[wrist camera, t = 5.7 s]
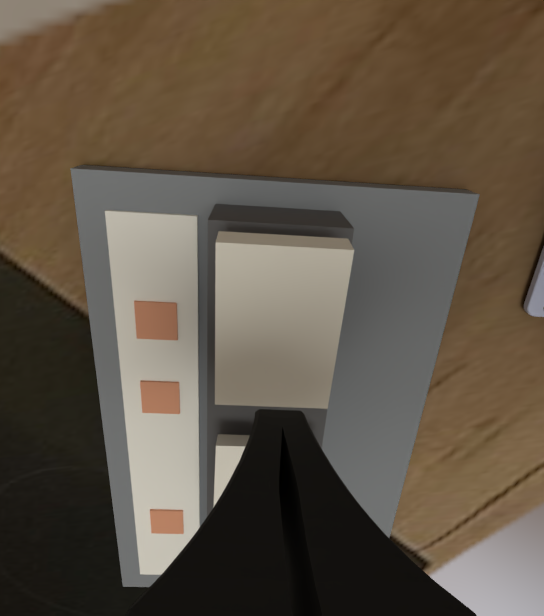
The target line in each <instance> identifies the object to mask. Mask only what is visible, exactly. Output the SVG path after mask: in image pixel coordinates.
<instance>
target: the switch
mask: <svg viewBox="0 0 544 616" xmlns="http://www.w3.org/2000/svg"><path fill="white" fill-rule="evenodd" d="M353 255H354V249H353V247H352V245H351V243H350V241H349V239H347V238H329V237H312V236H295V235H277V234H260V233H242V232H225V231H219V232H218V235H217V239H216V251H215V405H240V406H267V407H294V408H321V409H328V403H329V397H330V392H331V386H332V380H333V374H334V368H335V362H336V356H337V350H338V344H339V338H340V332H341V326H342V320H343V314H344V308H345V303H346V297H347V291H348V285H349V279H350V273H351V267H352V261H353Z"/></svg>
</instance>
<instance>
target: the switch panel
mask: <svg viewBox="0 0 544 616" xmlns="http://www.w3.org/2000/svg"><path fill="white" fill-rule="evenodd" d="M71 176H72V184H73V192H74V200H75V208H76V216H77V223H78V231H79V239H80V247H81V255H82V263H83V271H84V279H85V287H86V295H87V303H88V311H89V319H90V327H91V335H92V343H93V351H94V359H95V367H96V375H97V383H98V391H99V399H100V407H101V415H102V423H103V431H104V439H105V447H106V455H107V463H108V471H109V479H110V487H111V495H112V503H113V511H114V519H115V527H116V535H117V543H118V551H119V558H120V566H121V574H122V582H123V587H150V586H151V585H152V584H153V583H154V582H155V581H156V580H157V579H158V578H159V577H160V576H161V574H162V573H163V572H164V571H165V570H166V569H167V568H168V567H169V565H170V564H171V563H172V562H173V561H174V559H175V558H176V557H177V556H178V555H179V553H180V552H181V551H182V550H183V549H184V547H185V546H186V545H187V544H188V542H189V541H190V540H191V539H192V537H193V536H194V535H195V533H196V532H197V531H198V529H199V528H200V526H201V525H202V523H203V522H204V521H205V519H206V518H207V516H208V515H209V513H210V512H211V510H212V509H213V506H214V480H215V454H216V442H217V437H218V434H228V435H250V433H251V430H252V427H253V423H254V418H255V412H256V411H257V410H259V409H271V410H297V411H302V412H303V413H304V415H305V417H306V420H307V422H308V424H309V426H310V428H311V430H312V432H313V434H314V436H315V438H316V440H317V442H318V443H319V445H320V447H321V449H322V450H323V452H324V454H325V455H326V457H327V459H328V460H329V462H330V463H331V465H332V467H333V468H334V470H335V471H336V473H337V474H338V476H339V477H340V479H341V480H342V481H343V483H344V484H345V486H346V487H347V489H348V490H349V491H350V493H351V494H352V495H353V497H354V498H355V499H356V501H357V502H358V503H359V504H360V506H361V507H362V508H363V509H364V510H365V512H366V513H367V514H368V515H369V516H370V518H371V519H372V520H373V521H374V522H375V523H376V524H377V526H378V527H379V528H380V529H381V530H382V531H383V532H384V533H385V534H386V536H387V537H388V538H389V537H390V533H391V530H392V526H393V522H394V518H395V514H396V511H397V507H398V503H399V499H400V495H401V492H402V488H403V484H404V480H405V476H406V473H407V469H408V465H409V461H410V457H411V454H412V450H413V446H414V442H415V438H416V435H417V431H418V427H419V423H420V419H421V415H422V412H423V408H424V404H425V400H426V396H427V393H428V389H429V385H430V381H431V377H432V374H433V370H434V366H435V362H436V358H437V355H438V351H439V347H440V343H441V339H442V336H443V332H444V328H445V324H446V320H447V316H448V313H449V309H450V305H451V301H452V297H453V294H454V290H455V286H456V282H457V278H458V275H459V271H460V267H461V263H462V259H463V256H464V252H465V248H466V244H467V240H468V237H469V233H470V229H471V225H472V221H473V218H474V214H475V210H476V206H477V202H478V198H479V195H480V194H477V193H474V192H472V191H469V190H466V189H450V188H435V187H419V186H403V185H388V184H372V183H357V182H341V181H326V180H310V179H295V178H279V177H264V176H248V175H232V174H217V173H201V172H186V171H170V170H155V169H139V168H124V167H108V166H93V165H80V166H77V167H73V168H71ZM219 231H225V232H242V233H260V234H277V235H295V236H312V237H329V238H347V239H349V241H350V243H351V245H352V247H353V249H354V255H353V261H352V267H351V273H350V279H349V285H348V291H347V297H346V303H345V308H344V314H343V320H342V326H341V332H340V338H339V344H338V350H337V356H336V362H335V368H334V374H333V380H332V386H331V392H330V397H329V403H328V409H321V408H294V407H267V406H240V405H215V251H216V239H217V235H218V232H219Z"/></svg>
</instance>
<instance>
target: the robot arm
mask: <svg viewBox="0 0 544 616" xmlns="http://www.w3.org/2000/svg"><path fill="white" fill-rule="evenodd" d="M543 307H544V247H543V250H542V253H541V255H540V258H539V261H538V264H537V267H536V270H535V273H534V276H533V279H532V282H531V285H530V288H529V291H528V294H527V297H526V299H525V302H524V310H525V311H526V312H527V313H528V314H529V315H531V316H535V317H544V309H543ZM126 616H476V614H475V613H474V612H473V611H471V610H470V609H469V608H468V607H466V606H465V605H464V604H463V603H461V602H460V601H459V600H458V599H456V598H455V597H454V596H452V595H451V594H450V593H449V592H447V591H446V590H445V589H444V588H442V587H441V586H440V585H439V584H437V583H436V582H435V581H434V580H433V579H431V578H430V577H429V576H428V575H427V574H426V573H425V572H424V571H422V570H421V569H420V568H419V567H418V566H417V565H416V564H415V563H413V562H412V561H411V560H410V559H409V558H408V557H407V556H406V555H405V554H404V553H403V552H402V551H401V550H400V549H399V548H398V547H397V546H396V545H395V544H394V543H393V542H392V541H391V540H390V539H389V538H388V537H387V536H386V534H385V533H384V532H383V531H382V530H381V529H380V528H379V527H378V526H377V524H376V523H375V522H374V521H373V520H372V519H371V518H370V516H369V515H368V514H367V513H366V512H365V510H364V509H363V508H362V507H361V506H360V504H359V503H358V502H357V501H356V499H355V498H354V497H353V495H352V494H351V493H350V491H349V490H348V489H347V487H346V486H345V484H344V483H343V481H342V480H341V479H340V477H339V476H338V474H337V473H336V471H335V470H334V468H333V467H332V465H331V463H330V462H329V460H328V459H327V457H326V455H325V454H324V452H323V450H322V449H321V447H320V445H319V443H318V442H317V440H316V438H315V436H314V434H313V432H312V430H311V428H310V426H309V424H308V422H307V420H306V417H305V415H304V413H303V412H302V411H297V410H271V409H259V410H257V411H256V412H255V418H254V423H253V427H252V430H251V433H250V436H249V439H248V442H247V444H246V447H245V449H244V451H243V454H242V456H241V459H240V461H239V463H238V465H237V467H236V469H235V471H234V473H233V475H232V476H231V478H230V480H229V482H228V484H227V486H226V488H225V489H224V491H223V493H222V495H221V496H220V498H219V500H218V501H217V503H216V504H215V506H214V507H213V509H212V510H211V512H210V513H209V515H208V516H207V518H206V519H205V521H204V522H203V523H202V525H201V526H200V528H199V529H198V531H197V532H196V533H195V535H194V536H193V537H192V539H191V540H190V541H189V542H188V544H187V545H186V546H185V547H184V549H183V550H182V551H181V552H180V553H179V555H178V556H177V557H176V558H175V559H174V561H173V562H172V563H171V564H170V565H169V567H168V568H167V569H166V570H165V571H164V572H163V573H162V574H161V576H160V577H159V578H158V579H157V580H156V581H155V582H154V583H153V584H152V585H151V586H150V587H149V588H148V589H147V590H146V591H145V592H144V593H143V594H142V595H141V596H140V597H139V598H138V600H137V601H136V602H135V603H134V604H133V605H132V606H131V607H130V608H129V610H128V612H127V614H126Z"/></svg>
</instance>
